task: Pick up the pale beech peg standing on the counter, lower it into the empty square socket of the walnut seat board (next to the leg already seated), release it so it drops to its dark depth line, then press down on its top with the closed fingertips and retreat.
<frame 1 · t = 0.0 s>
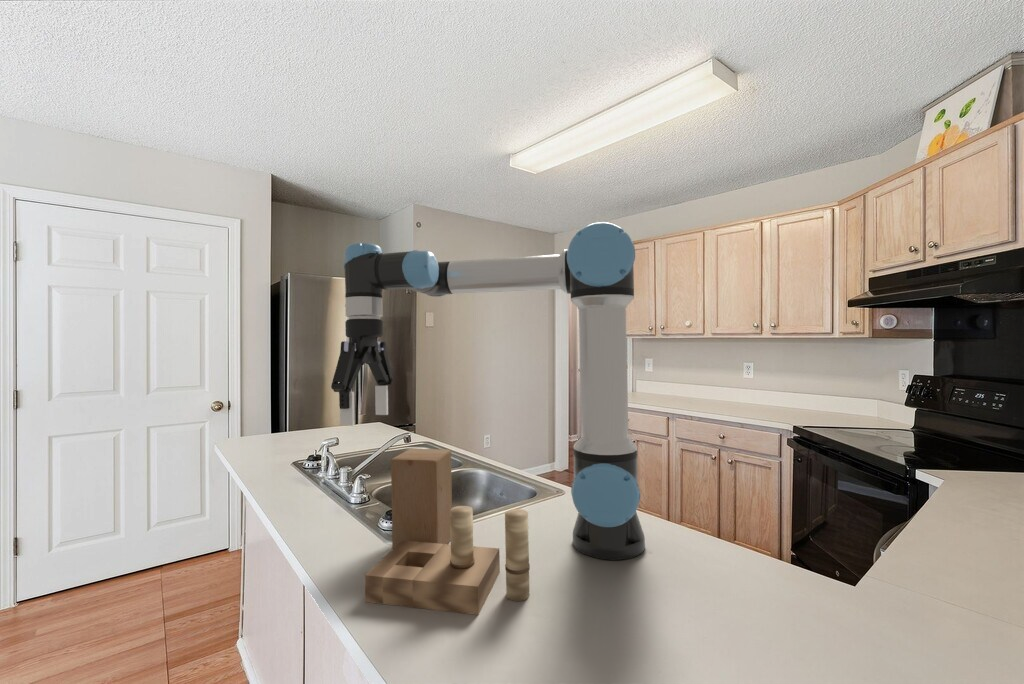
hand: (365, 419, 96), 28 cm above the countertop, fingers open, 13 cm apart
board: (436, 586, 82), on the countertop
wooden block: (423, 547, 99), on the countertop
peg: (517, 594, 79), on the countertop
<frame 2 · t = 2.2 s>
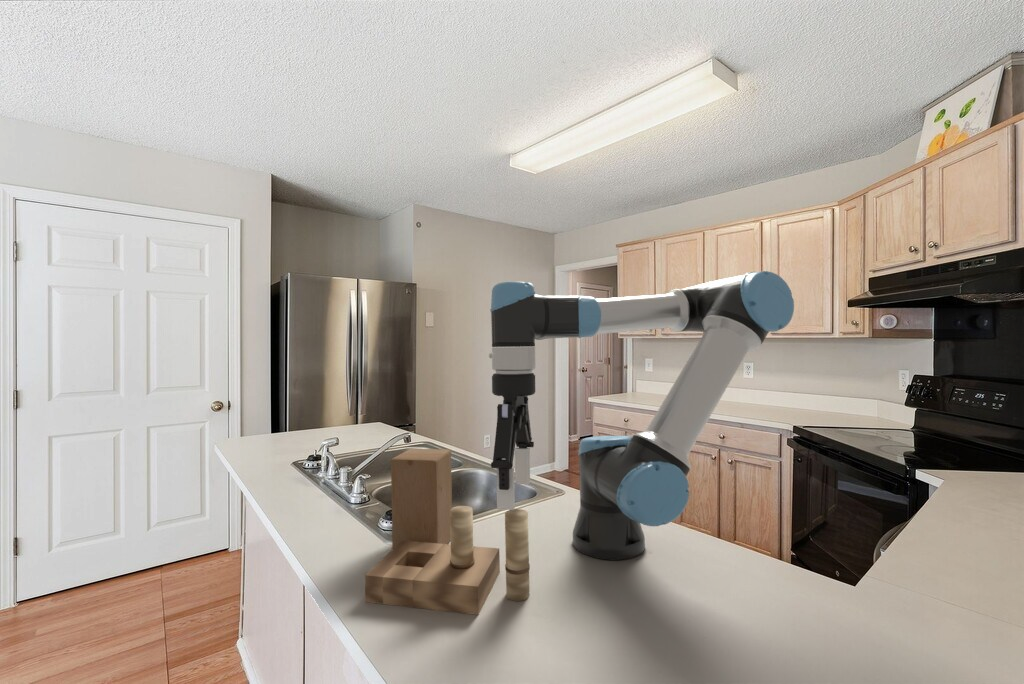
hand: (515, 495, 79), 17 cm above the countertop, fingers open, 13 cm apart
nothing on the countertop moved.
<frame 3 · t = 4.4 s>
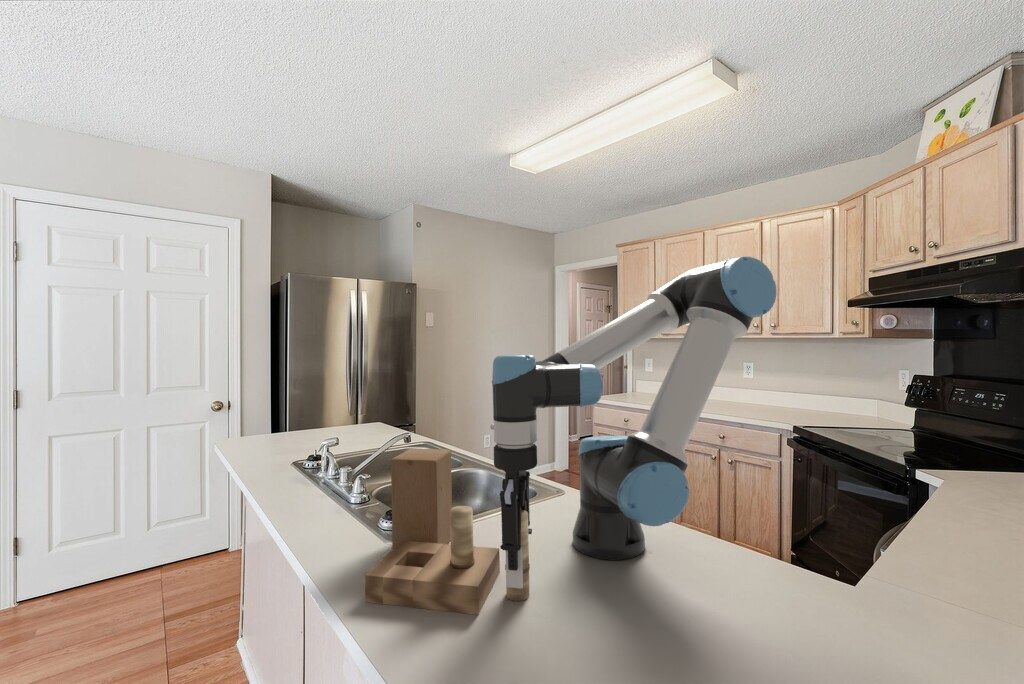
hand: (517, 579, 79), 3 cm above the countertop, fingers closed on peg, 4 cm apart
peg: (517, 594, 79), on the countertop, touching gripper
everything else where it was.
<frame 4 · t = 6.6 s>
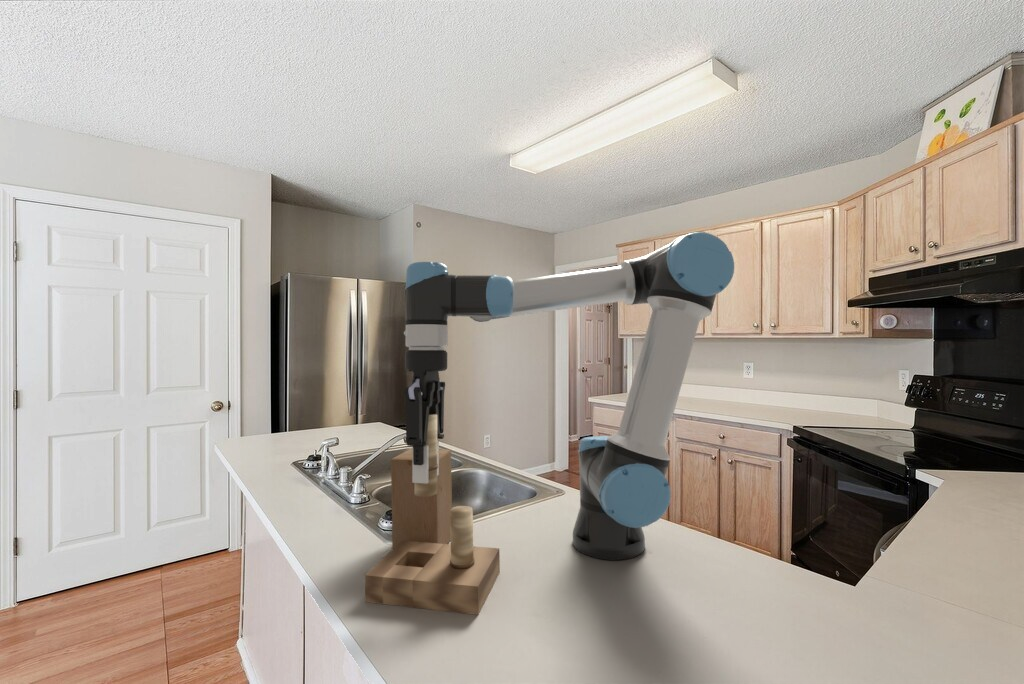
hand: (425, 478, 82), 19 cm above the countertop, fingers closed on peg, 4 cm apart
peg: (425, 493, 82), point 17 cm above the countertop, touching gripper
everything else where it was.
when the fingers open (6 cm above the countertop, at t = 9.0 s): peg drops 3 cm, resting in board.
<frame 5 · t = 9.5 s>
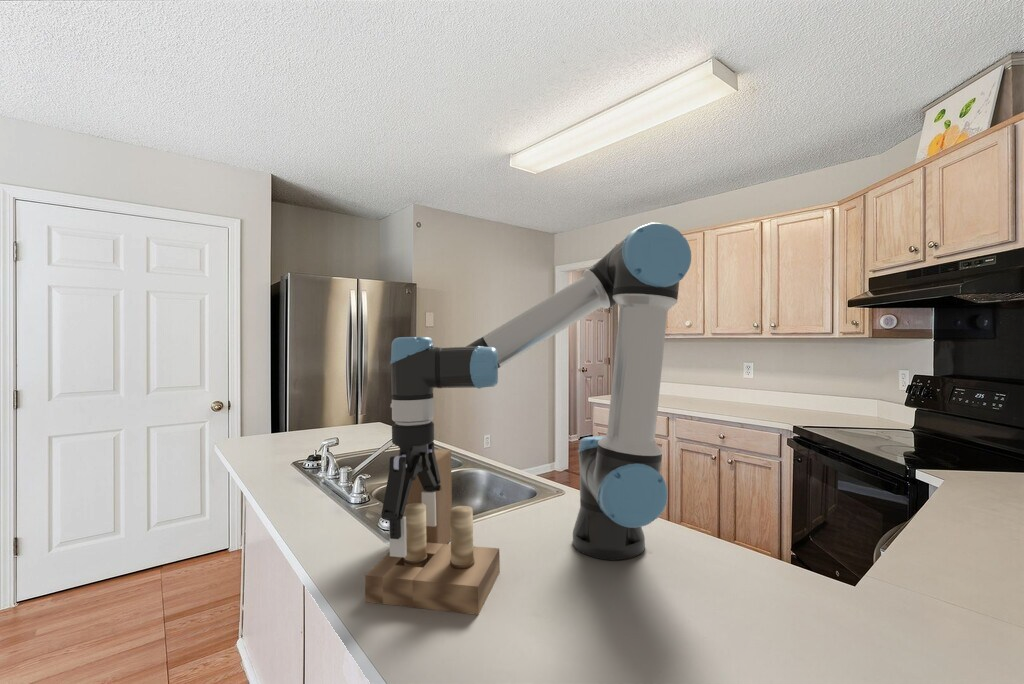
hand: (414, 539, 83), 8 cm above the countertop, fingers open, 12 cm apart
peg: (415, 583, 83), resting in board
everything else where it was.
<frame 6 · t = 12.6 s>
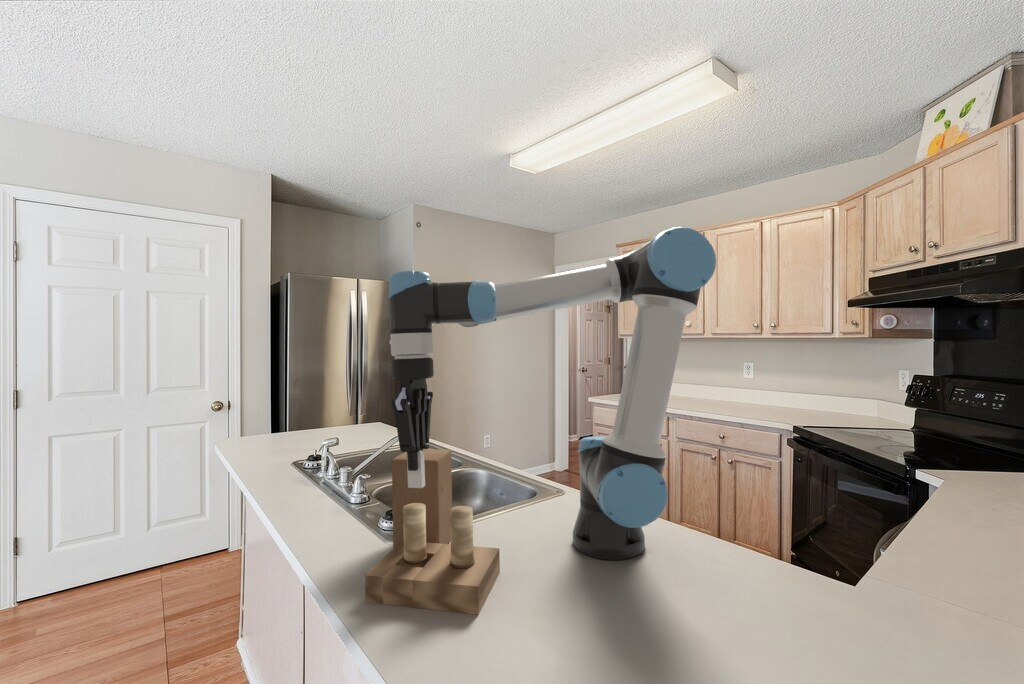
hand: (416, 486, 83), 18 cm above the countertop, fingers closed
nothing on the countertop moved.
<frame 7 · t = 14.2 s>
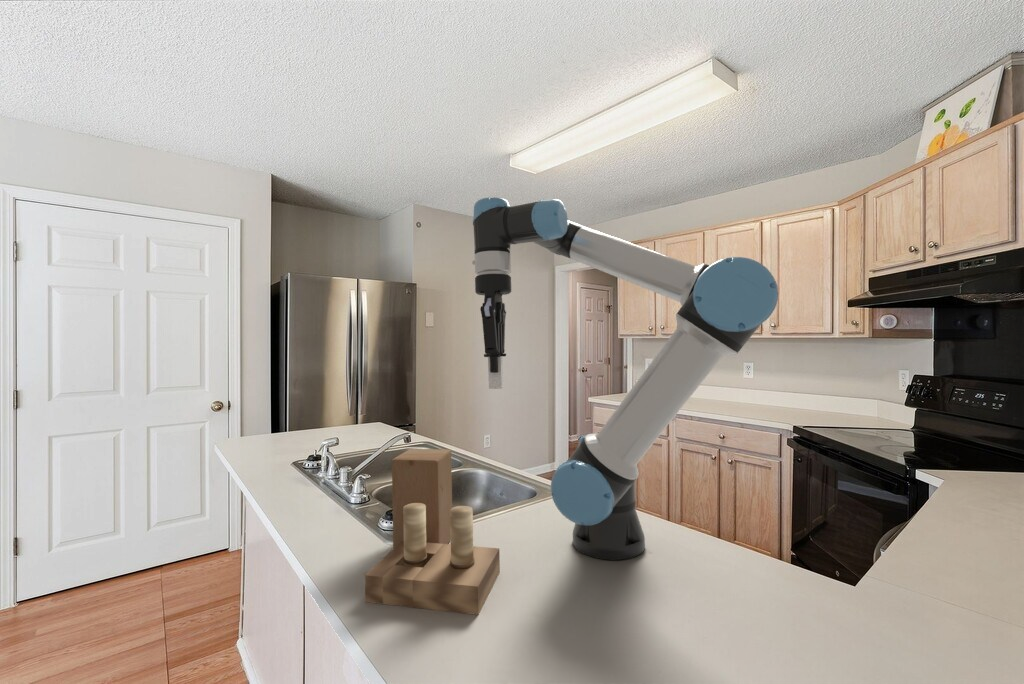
hand: (496, 388, 95), 34 cm above the countertop, fingers closed
nothing on the countertop moved.
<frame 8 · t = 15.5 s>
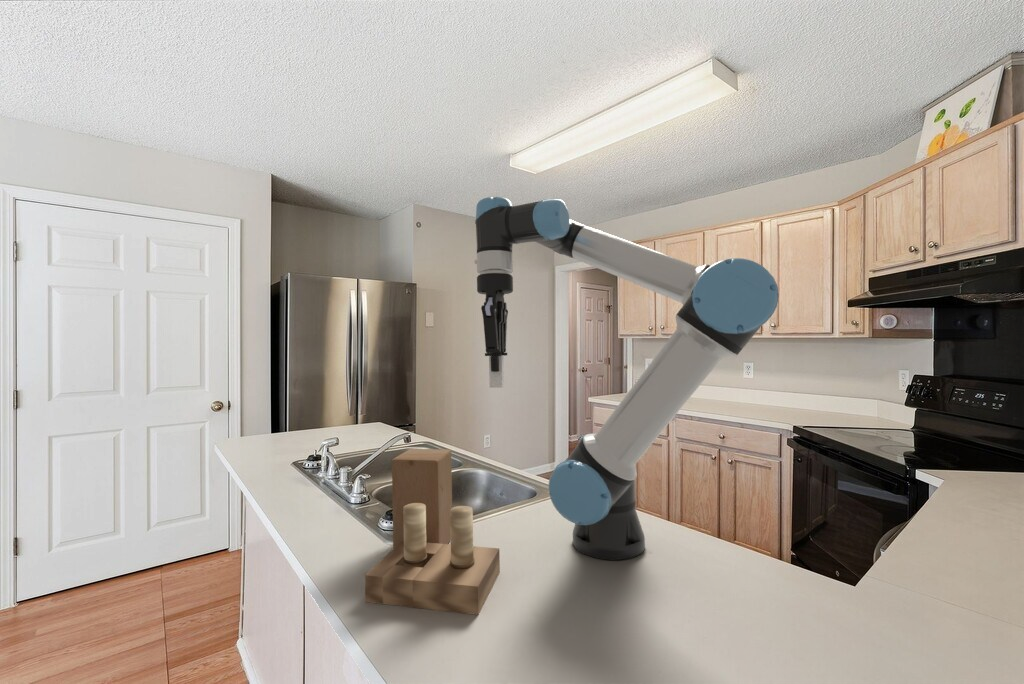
hand: (496, 387, 95), 34 cm above the countertop, fingers closed
nothing on the countertop moved.
at the end: peg 0.1 cm from the target spot on the board, point 0.0 cm above the board's base; peg tilted 0°; the gripper is holding nothing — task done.
